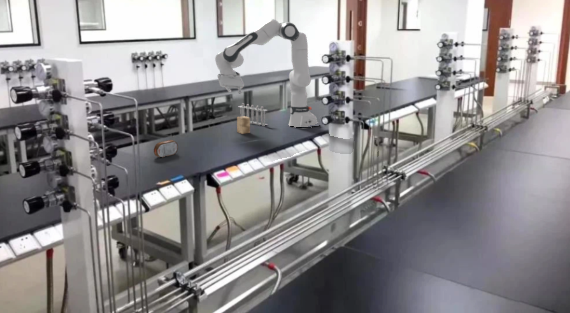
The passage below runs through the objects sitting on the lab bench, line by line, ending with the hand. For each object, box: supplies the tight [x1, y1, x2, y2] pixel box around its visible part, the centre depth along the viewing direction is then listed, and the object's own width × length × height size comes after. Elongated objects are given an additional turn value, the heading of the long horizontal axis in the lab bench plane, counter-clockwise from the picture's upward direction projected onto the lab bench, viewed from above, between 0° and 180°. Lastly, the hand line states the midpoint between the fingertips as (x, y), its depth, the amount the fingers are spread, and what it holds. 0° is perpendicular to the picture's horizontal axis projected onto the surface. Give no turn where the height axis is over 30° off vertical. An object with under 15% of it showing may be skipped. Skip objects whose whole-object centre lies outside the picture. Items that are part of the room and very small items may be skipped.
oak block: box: [236, 115, 251, 135], centre depth 334 cm, size 6×6×10 cm
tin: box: [153, 139, 179, 158], centre depth 281 cm, size 15×3×8 cm, turn 141°
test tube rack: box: [237, 102, 269, 127], centre depth 366 cm, size 25×4×13 cm, turn 53°
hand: (235, 92), depth 337 cm, fingers open, 8 cm apart
